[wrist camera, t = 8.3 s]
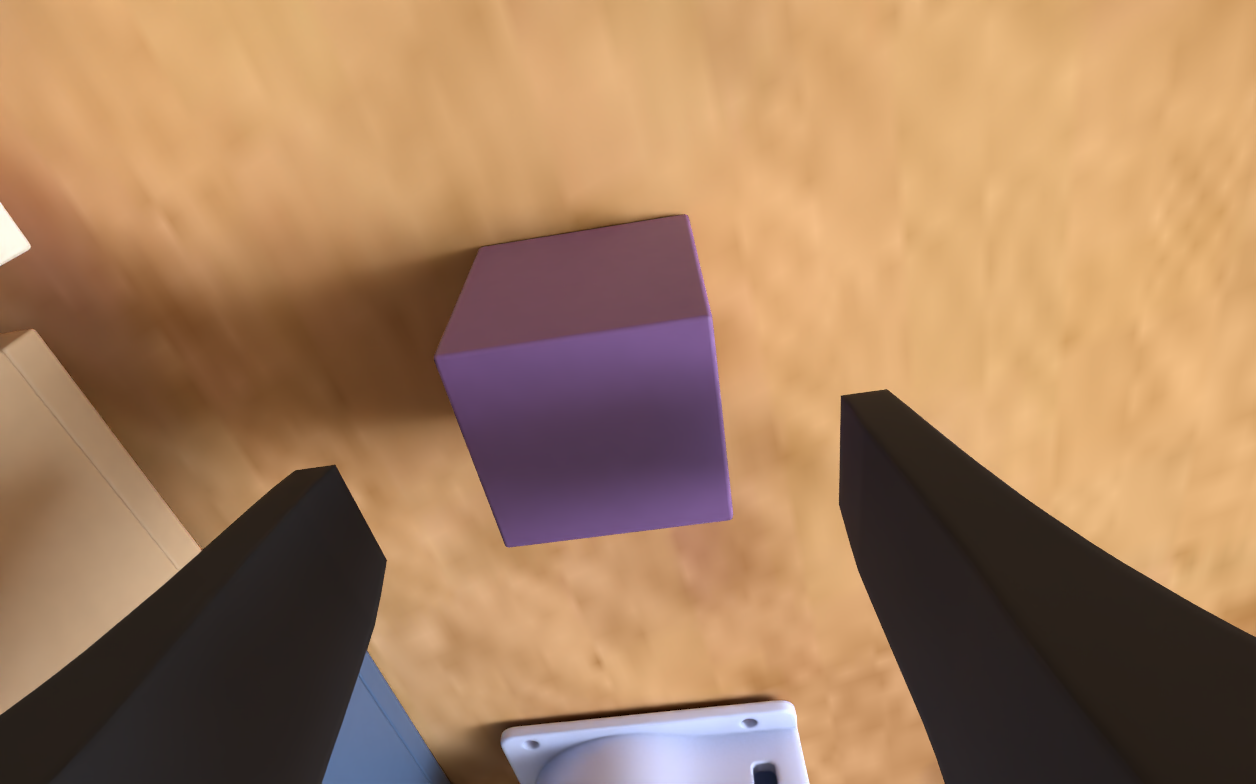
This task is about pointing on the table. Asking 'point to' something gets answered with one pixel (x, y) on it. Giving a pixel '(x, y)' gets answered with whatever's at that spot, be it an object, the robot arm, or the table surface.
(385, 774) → the cabinet
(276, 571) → the robot arm
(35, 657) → the drawer
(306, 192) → the table surface
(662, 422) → the block
